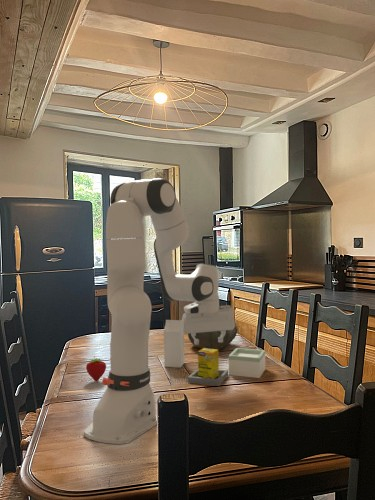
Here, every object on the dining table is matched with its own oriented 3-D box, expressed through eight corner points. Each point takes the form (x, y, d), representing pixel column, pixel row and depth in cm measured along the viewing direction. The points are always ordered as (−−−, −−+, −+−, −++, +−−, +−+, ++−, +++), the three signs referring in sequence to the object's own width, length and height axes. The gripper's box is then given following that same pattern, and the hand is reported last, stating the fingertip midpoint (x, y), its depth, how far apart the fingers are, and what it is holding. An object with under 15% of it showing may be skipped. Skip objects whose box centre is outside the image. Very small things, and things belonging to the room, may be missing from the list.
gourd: (239, 335, 211) (235, 303, 208) (240, 356, 186) (235, 320, 183) (192, 339, 214) (187, 308, 211) (187, 360, 189) (182, 326, 186)
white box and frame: (252, 390, 139) (252, 368, 139) (188, 382, 148) (187, 362, 147) (265, 368, 162) (265, 350, 162) (209, 363, 171) (208, 345, 171)
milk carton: (181, 367, 165) (180, 322, 165) (164, 367, 166) (163, 321, 166) (184, 362, 172) (184, 318, 172) (168, 362, 173) (168, 318, 173)
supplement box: (197, 380, 150) (197, 351, 150) (204, 375, 155) (204, 347, 155) (212, 382, 147) (212, 353, 147) (218, 377, 152) (218, 349, 152)
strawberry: (104, 384, 147) (103, 356, 147) (84, 384, 147) (83, 357, 147) (108, 378, 153) (107, 352, 153) (88, 378, 153) (88, 352, 153)
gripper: (230, 303, 156) (232, 338, 156) (179, 307, 152) (180, 343, 152) (236, 306, 150) (237, 342, 150) (183, 309, 145) (184, 347, 146)
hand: (208, 343), depth 151 cm, fingers open, 8 cm apart
